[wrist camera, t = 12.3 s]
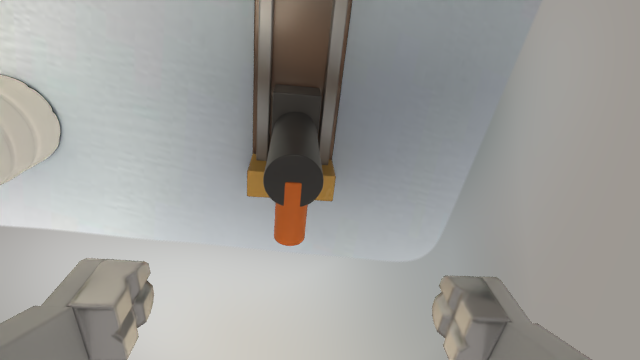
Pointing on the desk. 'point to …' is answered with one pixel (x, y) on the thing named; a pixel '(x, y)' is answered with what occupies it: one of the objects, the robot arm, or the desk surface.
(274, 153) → the nozzle
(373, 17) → the desk surface
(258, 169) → the block
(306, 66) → the rail
